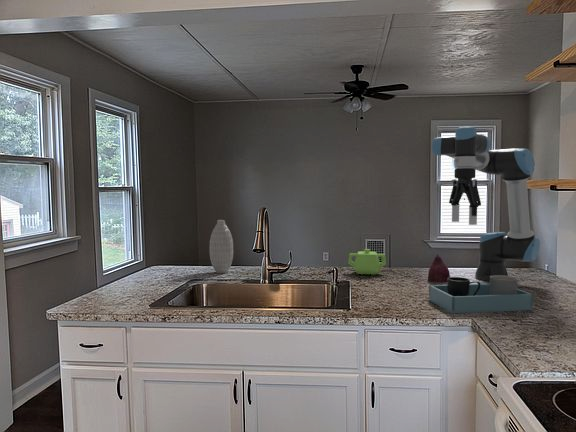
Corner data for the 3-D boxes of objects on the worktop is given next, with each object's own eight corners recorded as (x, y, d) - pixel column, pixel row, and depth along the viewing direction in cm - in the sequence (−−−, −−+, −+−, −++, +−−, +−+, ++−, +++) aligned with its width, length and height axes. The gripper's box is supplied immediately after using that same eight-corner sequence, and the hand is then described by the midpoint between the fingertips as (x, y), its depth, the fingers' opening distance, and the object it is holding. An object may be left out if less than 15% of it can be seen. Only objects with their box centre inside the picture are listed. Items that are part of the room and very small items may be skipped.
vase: (236, 270, 260) (236, 219, 258) (228, 275, 248) (228, 221, 246) (215, 269, 263) (214, 219, 261) (206, 274, 251) (205, 221, 249)
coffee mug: (520, 306, 179) (521, 280, 179) (493, 306, 181) (494, 280, 180) (509, 298, 193) (509, 273, 192) (483, 297, 194) (484, 273, 193)
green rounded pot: (348, 269, 264) (348, 246, 263) (384, 270, 261) (385, 246, 260) (347, 275, 246) (347, 250, 245) (387, 276, 243) (387, 251, 242)
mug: (479, 307, 179) (480, 282, 178) (446, 304, 183) (446, 280, 182) (479, 302, 186) (480, 278, 185) (447, 299, 191) (448, 276, 190)
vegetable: (442, 290, 226) (442, 261, 221) (423, 283, 234) (423, 256, 229) (454, 281, 232) (454, 253, 228) (435, 276, 240) (435, 248, 235)
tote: (502, 297, 198) (502, 283, 198) (532, 310, 178) (533, 294, 178) (429, 300, 194) (429, 285, 194) (451, 313, 174) (452, 297, 174)
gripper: (441, 168, 194) (440, 220, 195) (472, 166, 169) (471, 226, 170) (458, 168, 194) (457, 220, 196) (492, 166, 170) (490, 225, 171)
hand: (463, 223), depth 183 cm, fingers open, 13 cm apart
